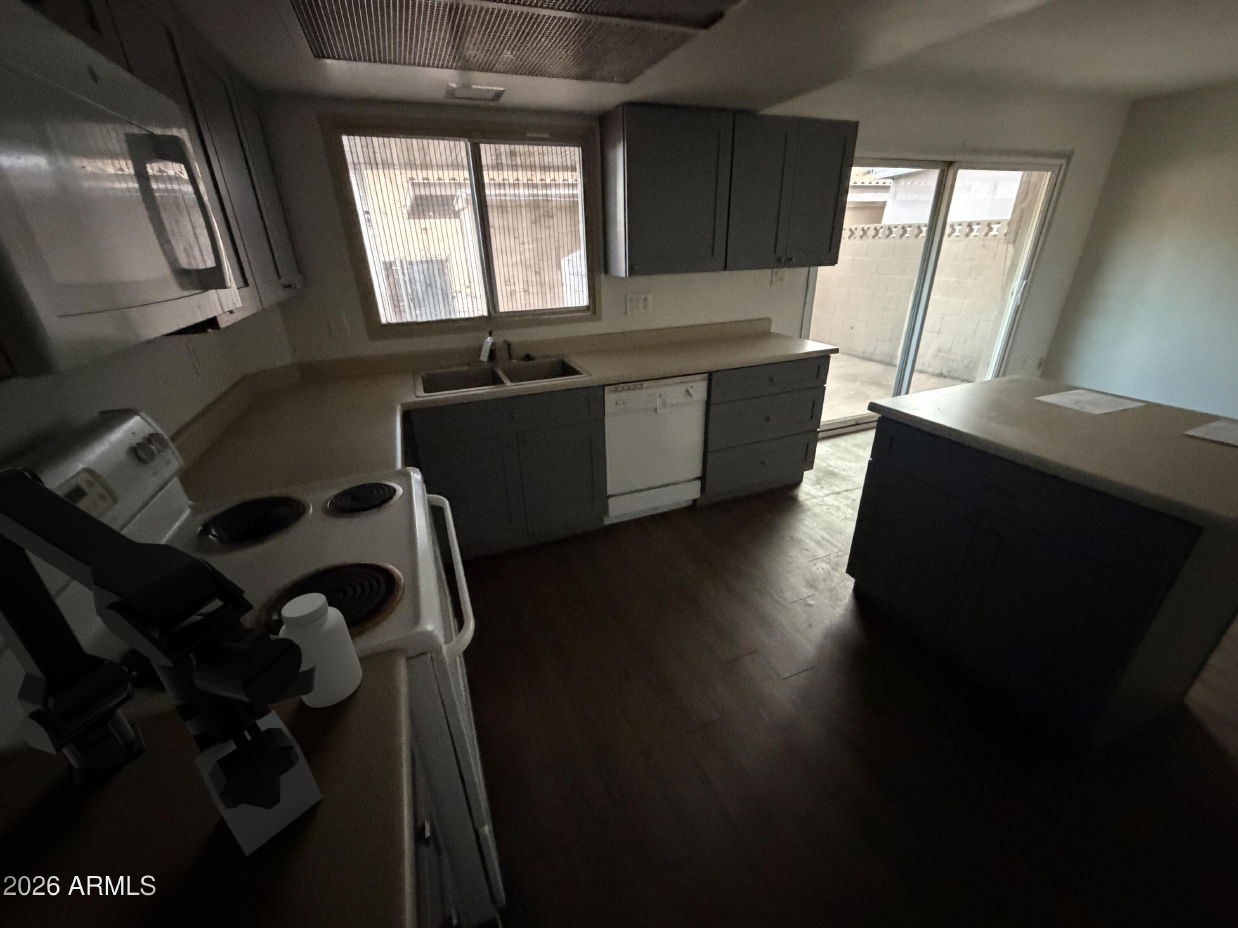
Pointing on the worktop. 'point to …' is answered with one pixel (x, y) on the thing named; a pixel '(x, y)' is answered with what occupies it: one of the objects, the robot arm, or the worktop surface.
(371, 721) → the worktop surface
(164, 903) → the worktop surface
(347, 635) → the pill bottle
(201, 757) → the grey cube
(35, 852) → the worktop surface
